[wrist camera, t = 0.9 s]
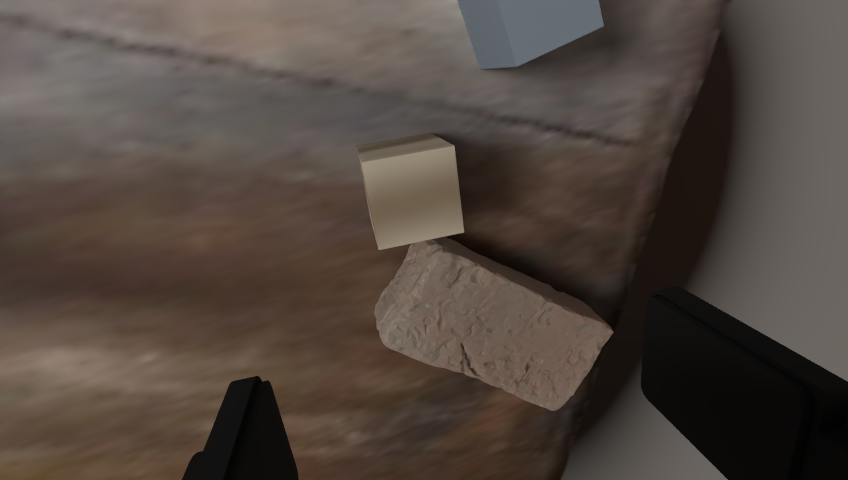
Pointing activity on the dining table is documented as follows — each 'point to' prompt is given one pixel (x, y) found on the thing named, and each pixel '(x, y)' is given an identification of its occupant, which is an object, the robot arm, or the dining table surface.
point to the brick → (489, 323)
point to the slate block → (525, 27)
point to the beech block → (411, 189)
